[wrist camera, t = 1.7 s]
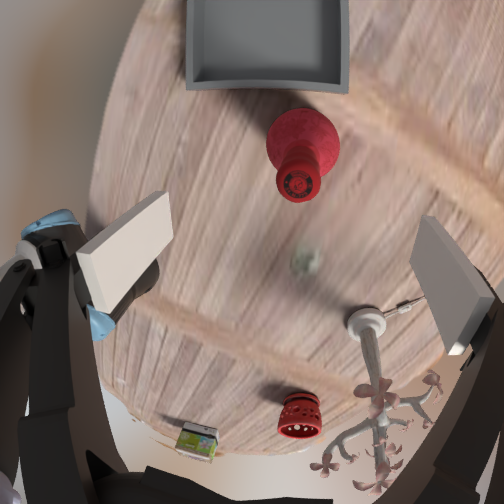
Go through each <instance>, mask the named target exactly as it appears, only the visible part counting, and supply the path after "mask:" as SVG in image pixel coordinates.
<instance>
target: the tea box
mask: <svg viewBox="0 0 504 504" xmlns="http://www.w3.org/2000/svg"><path fill="white" fill-rule="evenodd" d="M219 438H220V437H219V433H218V429H212V428H208V427H204V426H200V425H196V424H193V423H189V422H185V424H184V426H183V428H182V431H181V433H180V436H179V438H178V441H177V443H176V446H175V449H176V450H177V452H178V454H179V455H182V456H185V457H188V458H192V459H195V460H199V461H203V462H207V463H212V460H213V457H214V454H215V451H216V448H217V445H218V442H219Z"/></svg>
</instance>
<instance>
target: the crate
mask: <svg viewBox="0 0 504 504" xmlns="http://www.w3.org/2000/svg"><path fill="white" fill-rule="evenodd" d="M219 89H284V90H302V91H315V92H326V93H335V94H343V95H344V94H348V90H349V2H348V0H187V16H186V90H195V91H201V90H219Z"/></svg>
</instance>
